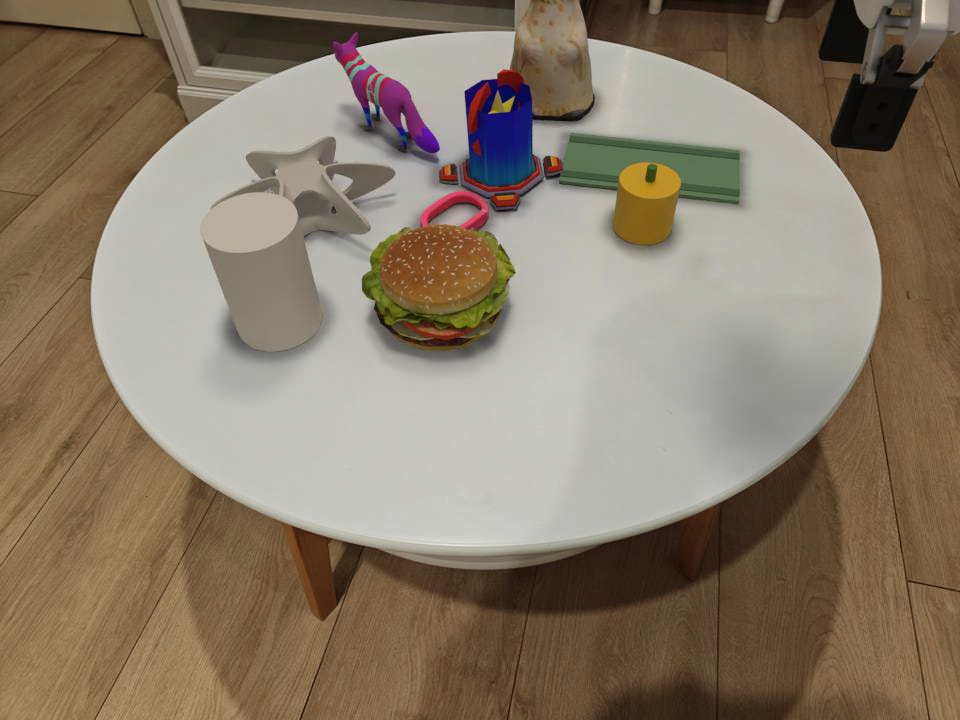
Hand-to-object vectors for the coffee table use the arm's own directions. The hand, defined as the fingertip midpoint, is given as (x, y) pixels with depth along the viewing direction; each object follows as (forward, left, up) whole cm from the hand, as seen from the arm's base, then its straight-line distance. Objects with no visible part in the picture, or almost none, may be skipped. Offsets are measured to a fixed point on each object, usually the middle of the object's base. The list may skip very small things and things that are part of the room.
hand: (850, 100), depth 45 cm
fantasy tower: (+27, -29, -28) cm, 48 cm away
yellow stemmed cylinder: (+10, -22, -28) cm, 37 cm away
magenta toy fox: (+42, -34, -28) cm, 61 cm away
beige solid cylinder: (+43, -1, -28) cm, 52 cm away
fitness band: (+30, -19, -28) cm, 46 cm away
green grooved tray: (+10, -33, -28) cm, 45 cm away
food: (+28, -6, -28) cm, 40 cm away
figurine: (+24, -46, -28) cm, 59 cm away
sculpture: (+46, -17, -28) cm, 57 cm away
